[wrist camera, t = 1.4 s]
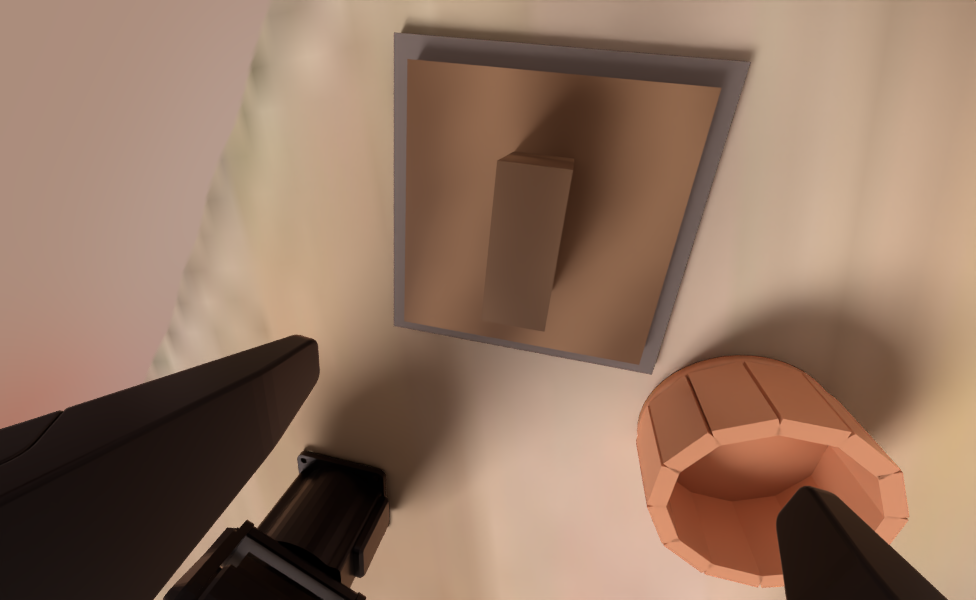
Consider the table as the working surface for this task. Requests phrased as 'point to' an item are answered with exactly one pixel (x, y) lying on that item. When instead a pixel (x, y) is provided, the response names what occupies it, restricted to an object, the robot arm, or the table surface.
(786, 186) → the table surface
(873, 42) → the table surface
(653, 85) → the lid
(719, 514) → the bowl
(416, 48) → the tray
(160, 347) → the table surface
